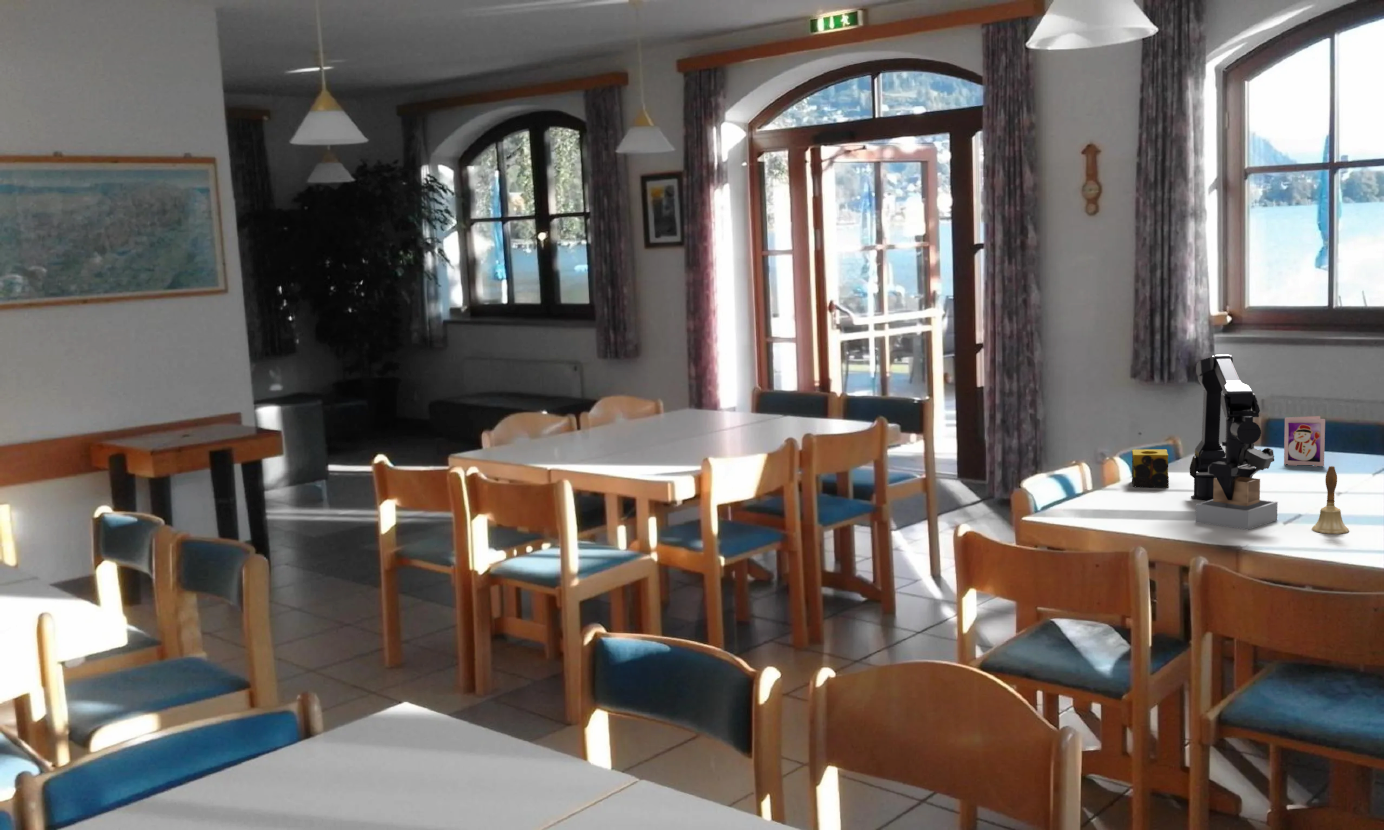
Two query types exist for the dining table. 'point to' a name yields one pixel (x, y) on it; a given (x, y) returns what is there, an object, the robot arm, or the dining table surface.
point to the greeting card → (1304, 441)
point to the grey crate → (1236, 514)
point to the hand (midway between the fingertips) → (1236, 497)
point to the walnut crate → (1239, 492)
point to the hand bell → (1330, 509)
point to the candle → (1150, 468)
